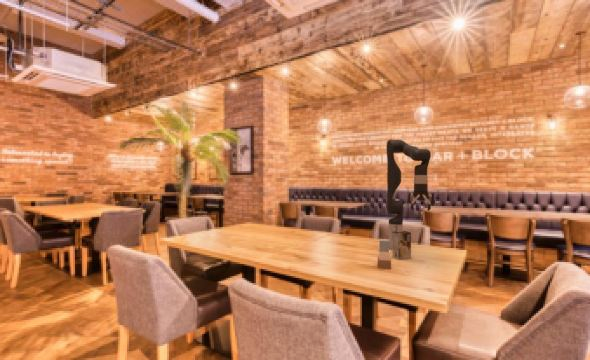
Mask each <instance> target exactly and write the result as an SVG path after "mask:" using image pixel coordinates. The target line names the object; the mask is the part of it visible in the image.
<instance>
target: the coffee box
mask: <svg viewBox="0 0 590 360" xmlns="http://www.w3.org/2000/svg"><path fill="white" fill-rule="evenodd" d="M391 250H392V257H391V258H394V259H396V260H398V261H399V260H408V259H412V233H411V232H410V231H407V230H403V231H393V232H392V249H391Z"/></svg>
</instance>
